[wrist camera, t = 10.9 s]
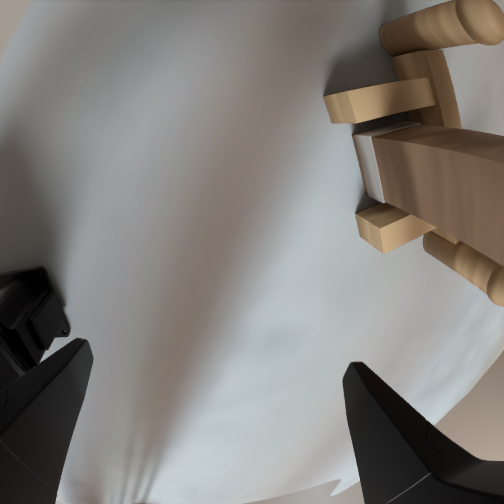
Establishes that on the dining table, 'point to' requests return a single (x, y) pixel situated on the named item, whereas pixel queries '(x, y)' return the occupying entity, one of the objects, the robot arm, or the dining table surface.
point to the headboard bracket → (424, 121)
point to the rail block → (439, 179)
